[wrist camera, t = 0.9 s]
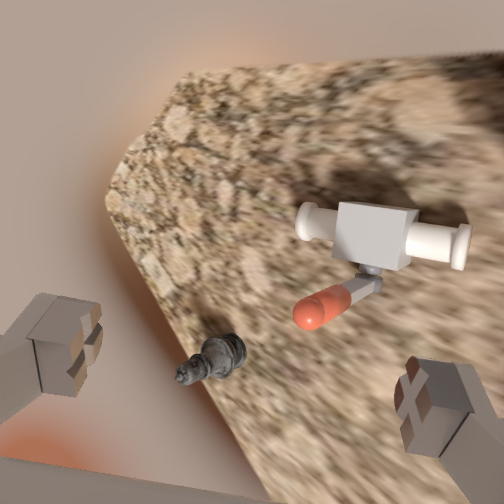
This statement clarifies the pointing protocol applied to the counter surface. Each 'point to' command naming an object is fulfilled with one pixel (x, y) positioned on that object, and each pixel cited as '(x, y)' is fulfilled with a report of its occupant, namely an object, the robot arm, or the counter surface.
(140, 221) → the counter surface
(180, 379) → the grey chess pawn
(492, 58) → the counter surface
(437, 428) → the robot arm
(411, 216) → the valve
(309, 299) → the lever
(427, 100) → the counter surface
